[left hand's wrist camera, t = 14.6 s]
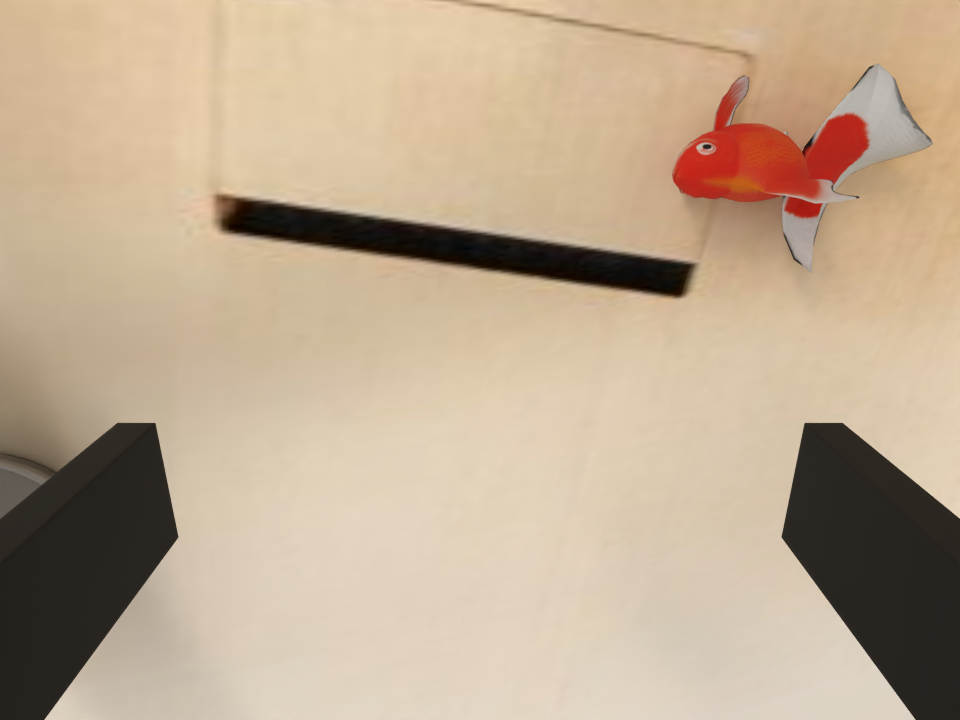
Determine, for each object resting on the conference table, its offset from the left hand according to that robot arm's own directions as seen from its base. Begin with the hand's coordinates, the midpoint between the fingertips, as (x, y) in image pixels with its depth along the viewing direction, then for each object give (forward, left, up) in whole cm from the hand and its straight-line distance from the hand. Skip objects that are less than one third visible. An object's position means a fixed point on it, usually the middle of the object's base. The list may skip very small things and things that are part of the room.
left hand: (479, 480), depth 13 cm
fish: (+17, -9, -31) cm, 36 cm away
